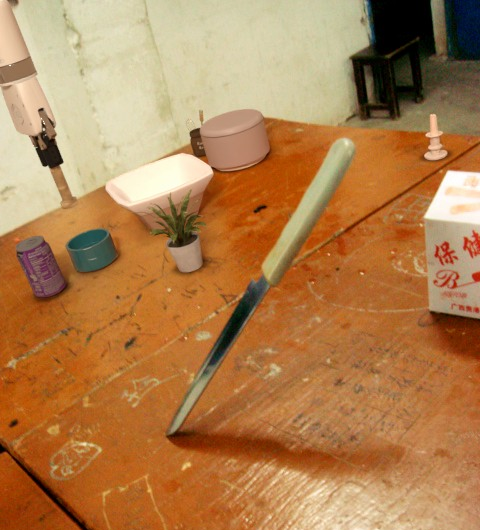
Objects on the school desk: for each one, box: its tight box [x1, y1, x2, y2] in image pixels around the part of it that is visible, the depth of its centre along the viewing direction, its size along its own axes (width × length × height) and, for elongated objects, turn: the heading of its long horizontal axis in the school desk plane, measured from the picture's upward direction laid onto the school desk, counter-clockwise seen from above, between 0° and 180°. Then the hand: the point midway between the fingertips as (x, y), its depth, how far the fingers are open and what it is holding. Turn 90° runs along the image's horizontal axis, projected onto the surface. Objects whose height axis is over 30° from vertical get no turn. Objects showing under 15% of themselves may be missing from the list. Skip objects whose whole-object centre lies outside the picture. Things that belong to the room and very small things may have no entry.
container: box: [199, 108, 271, 172], centre depth 177 cm, size 18×18×12 cm
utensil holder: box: [185, 109, 206, 157], centre depth 191 cm, size 6×6×12 cm
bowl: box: [104, 152, 214, 231], centre depth 155 cm, size 24×25×11 cm
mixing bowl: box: [64, 227, 119, 273], centre depth 144 cm, size 10×10×6 cm
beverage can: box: [14, 235, 67, 298], centre depth 136 cm, size 7×7×12 cm
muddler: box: [38, 137, 79, 210], centre depth 130 cm, size 4×4×15 cm
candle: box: [423, 113, 448, 161], centre depth 148 cm, size 5×5×10 cm
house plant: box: [130, 189, 208, 273], centre depth 128 cm, size 14×14×16 cm
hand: (53, 164), depth 129 cm, fingers closed on muddler, 2 cm apart
